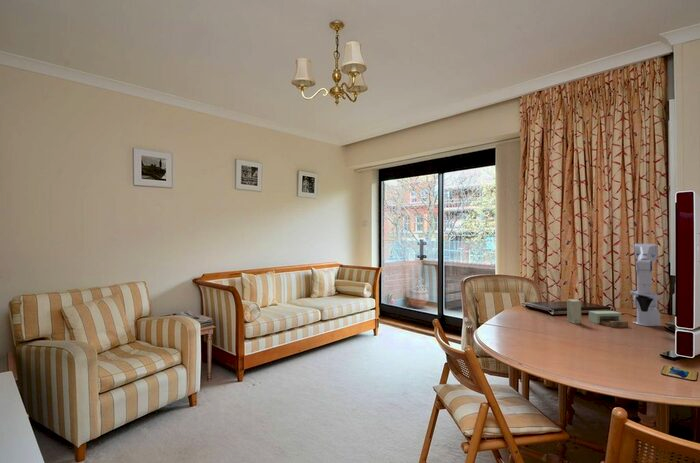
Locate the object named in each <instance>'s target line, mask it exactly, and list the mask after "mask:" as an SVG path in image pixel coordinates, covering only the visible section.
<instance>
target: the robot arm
mask: <svg viewBox="0 0 700 463" xmlns="http://www.w3.org/2000/svg"><path fill="white" fill-rule="evenodd" d="M658 246H659V245H658V244H657V243H635V244H634V249H633V250H634V257H635V260H636V261H635V271H636V290H630V291H629V294H630V295H631V296H632V295H633V305H634V306H635V307H636V321H632V324H633V323H634V324H637V325H639V326H643V327H662V324H661V312H660V310H659V309H658V301H659V300H661V296H660V295H659V294H657V292H656V291H654V290H653V271H654V262H655V261H657V259H658V251H659V250H658V248H659V247H658Z"/></svg>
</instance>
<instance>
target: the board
mask: <svg viewBox="0 0 700 463" xmlns="http://www.w3.org/2000/svg"><path fill="white" fill-rule="evenodd" d="M599 325H604V326H606V327H610V328H628V327H629V322H628V321H626V320H621V321H614V320H611V319H600V324H599Z"/></svg>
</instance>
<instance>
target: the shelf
mask: <svg viewBox="0 0 700 463" xmlns="http://www.w3.org/2000/svg"><path fill="white" fill-rule="evenodd" d="M600 319H611V320H614V321H622V313H621V312H618V311H616V310H589V311H588V322H589V323H593V324H596V325H601V324H600Z"/></svg>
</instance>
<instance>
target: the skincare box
mask: <svg viewBox="0 0 700 463" xmlns="http://www.w3.org/2000/svg"><path fill="white" fill-rule="evenodd" d="M566 313H567V314H566V317H567V322H569V323H572V324H575V325H576V324H577V325H579V324H582V300H578V299H575V298H573V299H572V298H571V299H566Z"/></svg>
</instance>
